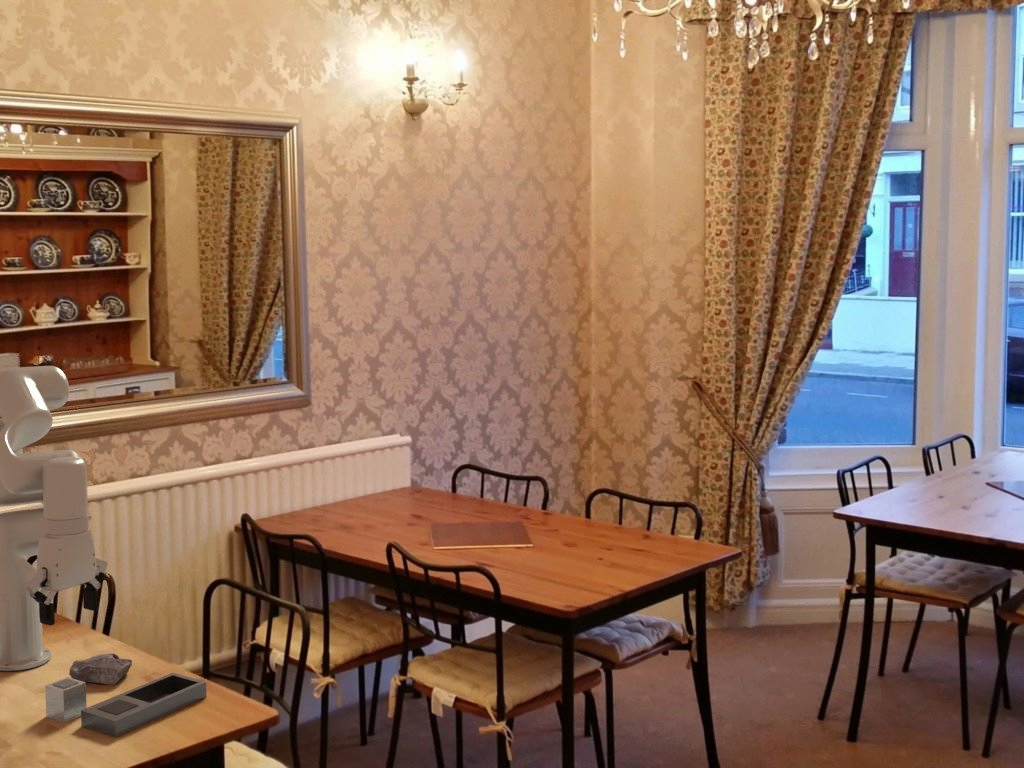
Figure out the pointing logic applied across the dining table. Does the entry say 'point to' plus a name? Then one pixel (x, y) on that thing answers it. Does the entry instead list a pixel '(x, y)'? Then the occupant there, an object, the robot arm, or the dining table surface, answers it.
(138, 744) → the dining table surface
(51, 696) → the gray cube
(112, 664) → the rock
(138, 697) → the grey tray with recess
